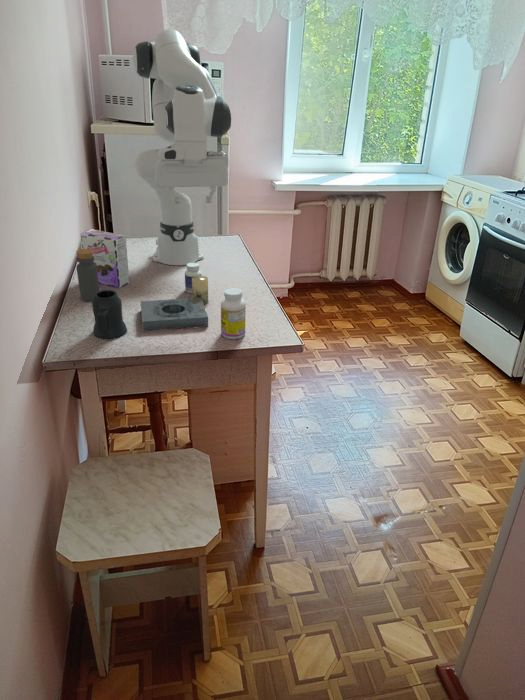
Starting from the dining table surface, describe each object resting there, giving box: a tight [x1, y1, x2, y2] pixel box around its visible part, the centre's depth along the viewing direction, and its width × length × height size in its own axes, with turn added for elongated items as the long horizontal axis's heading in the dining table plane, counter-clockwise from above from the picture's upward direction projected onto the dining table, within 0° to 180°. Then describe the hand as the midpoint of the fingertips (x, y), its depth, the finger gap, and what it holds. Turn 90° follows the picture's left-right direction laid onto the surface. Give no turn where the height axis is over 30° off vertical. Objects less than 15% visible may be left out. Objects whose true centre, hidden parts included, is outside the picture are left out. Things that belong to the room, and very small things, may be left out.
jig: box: [140, 297, 209, 332], centre depth 153 cm, size 14×18×3 cm
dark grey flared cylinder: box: [91, 289, 128, 340], centre depth 141 cm, size 12×9×11 cm
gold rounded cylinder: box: [191, 275, 209, 306], centre depth 162 cm, size 5×5×8 cm
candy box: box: [80, 228, 131, 289], centre depth 173 cm, size 14×6×16 cm, turn 65°
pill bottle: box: [184, 262, 202, 294], centre depth 170 cm, size 5×5×9 cm
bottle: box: [75, 248, 101, 303], centre depth 161 cm, size 6×6×15 cm
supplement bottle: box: [220, 287, 247, 340], centre depth 143 cm, size 7×7×13 cm
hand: (192, 202), depth 152 cm, fingers open, 8 cm apart
